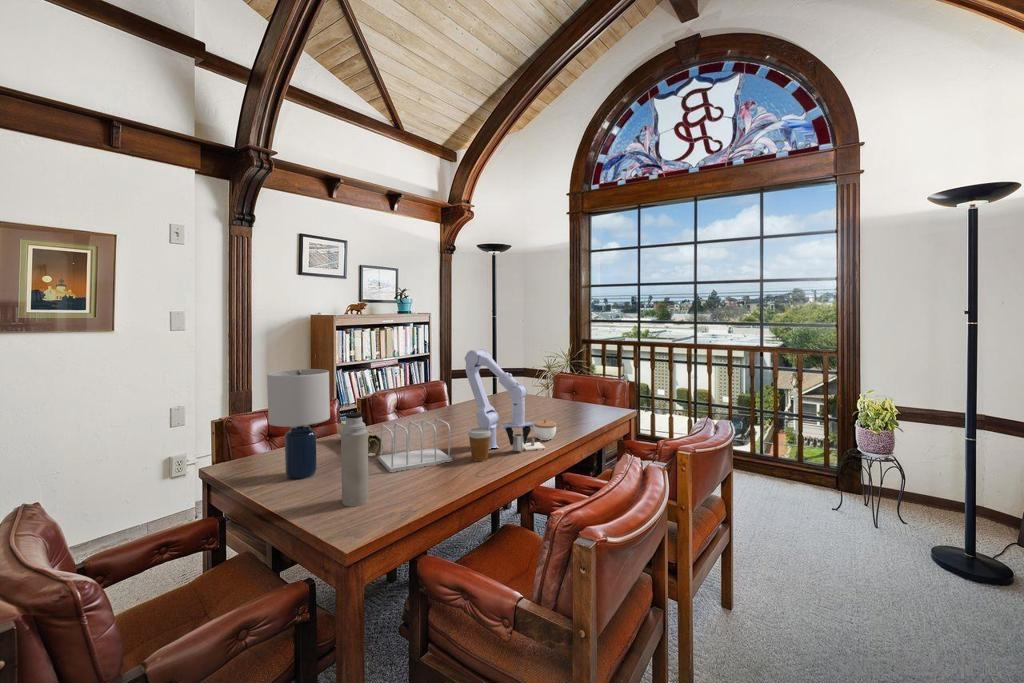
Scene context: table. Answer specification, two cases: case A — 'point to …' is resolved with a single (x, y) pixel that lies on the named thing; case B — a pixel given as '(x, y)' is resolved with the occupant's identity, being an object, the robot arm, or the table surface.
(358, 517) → the table surface
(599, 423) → the table surface
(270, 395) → the lamp
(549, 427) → the lidded jar
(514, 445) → the collar
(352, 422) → the thermos bottle
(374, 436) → the scroll
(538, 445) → the white peg stand
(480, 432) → the disposable coffee cup
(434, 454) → the file sorter
